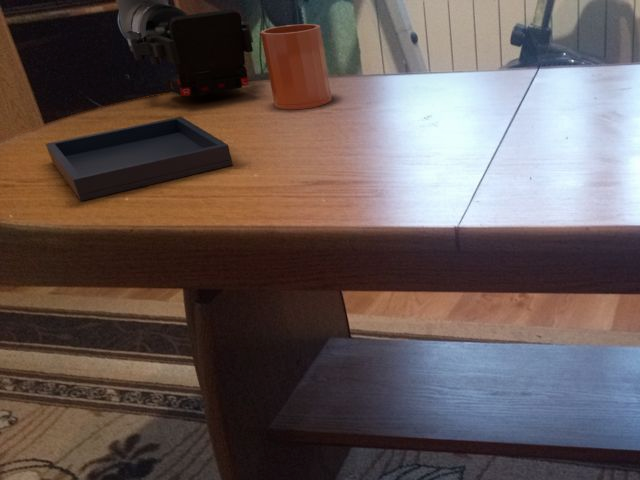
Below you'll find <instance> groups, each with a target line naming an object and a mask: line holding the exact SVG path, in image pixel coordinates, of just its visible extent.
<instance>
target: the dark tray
mask: <svg viewBox="0 0 640 480" xmlns="http://www.w3.org/2000/svg"><path fill="white" fill-rule="evenodd" d="M45 146H46V148H47V152H48V154H49V156H50V160H51V162H52V164H53V165H54V167H55V168H56V169H57V171H58V172H59V173H60V175H61V176H62V178H63V179H64V180H65V182H66V183H67V185H69V187H70V188H71V190H72V191H73V193H74V194H75V195H76V196H77V198H78V199H79V200H80V202H84V201H88V200H93V199H96V198H100V197H106V196H109V195H114V194H117V193H122V192H126V191H130V190H135V189H138V188H142V187H147V186H152V185H155V184H160V183H164V182H169V181H173V180H176V179H181V178H185V177H188V176H193V175H197V174H202V173H205V172H209V171H210V172H211V171H214V170H219V169H222V168H226V167H230V166H233V160H232V155H231V151H230V147H229V144H228V143H226V142H224V141H222V140H221V139H220V138H217V137H216V136H214V135H213V134H211V133H209V132H207V131H206V130H205V129H203V128H201V127H199V126H198V125H196V124H195V123H193V122H191V121H189V120H187V119H186V118H185V117H183V116H177V117H172V118H171V117H170V118H167V119H162V120H157V121H152V122H147V123H142V124H136V125H132V126H127V127H122V128H117V129H111V130H106V131H101V132H97V133H91V134H88V135H82V136H81V135H80V136H78V137H72V138H67V139H62V140H56V141H52V142H47V143H45Z"/></svg>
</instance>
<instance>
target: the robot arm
mask: <svg viewBox="0 0 640 480" xmlns="http://www.w3.org/2000/svg"><path fill="white" fill-rule="evenodd" d="M115 2H116V5H117V9H118V13H117V25H118V28H119V31H120V32H121V33H120V34H122V37H124V39H126V40H127V43H128V46H129V50H130V52H132V53H133V56H134V60H135V61H143V60H145V59H146V56H149V57H150V61H151V64H152V65H160V64H162V60H163V61H165V62H168V63H170V64H173V65H176V64H180V59H179V55H178V51H177V48H176V44H175V41H174V40H172V38H171V31H170V25H169V22H170V20H171V18H173V17H176V16H184V15H189V14H188V13H187V12H186V11H185V10H183V9H182V8H179V7H177V6H174V5H169V1H168V0H115ZM242 34H243V47H244V53H253V52H254V50H253V44H252V43H254V37H253V33H252V28H251V24H250V23H249V22H247V21H245V22H242Z"/></svg>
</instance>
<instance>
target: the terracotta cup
mask: <svg viewBox="0 0 640 480" xmlns="http://www.w3.org/2000/svg"><path fill="white" fill-rule="evenodd" d="M322 34H323V33H322V28H321V25H320V24H315V23H301V24H288V25H281V26H274V27H269V28H266V29H263V30H261V31H260V37H261V43H262V48H263V54H264V57H265V63H266V67H267V72H268V79H269V83H270V88H271V93H272V99H273V102H274V106H275V107H276V108H278V109H279V110H280V109H281V110H303V109H304V110H305V109H310V108H311V109H312V108H316V107H320V106H324V105H327V104H328V103H330V102H331V101H332V100H333V99H332V93H331V92H332V91H331V85H330V79H329V73H328V67H327V60H326V54H325V48H324V47H325V46H324V42H323V35H322Z"/></svg>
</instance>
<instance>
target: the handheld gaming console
mask: <svg viewBox="0 0 640 480" xmlns="http://www.w3.org/2000/svg"><path fill="white" fill-rule="evenodd" d="M242 20H243V19H242V15H241V14H240V12H239V11H238V10H237V9H233V8H230V9H224V10H223V9H222V10H214V11H208V12H200V13H192V14H188V15H184V16H176V17H173V18H171V20H170V22H169V25H170V31H171V38H172V40H174V41H175V44H176V48H177V51H178V55H179V59H180V64H175V68H176V74H175V75H174V74H173V75H169V76H164V78H165V82H166V86H167V89H168V90H171V91H172V92H173V93H176V94H177V95H179V96H181V97H189V96H190V97H197V96H203V95H208V94H214V93H218V92H224V91H231V90H235V89H240V88H243V86H249V79H248V69H247V68H246V59H245V51H244V47H243V34H242V23H243V21H242Z"/></svg>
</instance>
